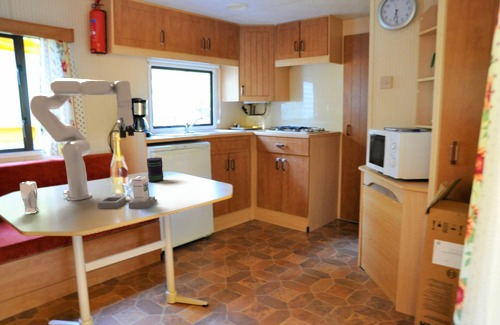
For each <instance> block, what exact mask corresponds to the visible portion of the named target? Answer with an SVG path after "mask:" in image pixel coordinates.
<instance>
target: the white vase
mask: <svg viewBox="0 0 500 325" xmlns="http://www.w3.org/2000/svg"><path fill="white" fill-rule="evenodd" d="M19 191H20V192H19V193H20V197H21V199H22V202H23V205H24V213H25V212H35V211H38V210H39V211H40V209H39V206H38V197H39V195H38V186H37V182H36V180H35V181H34V180H29V181H28V180H27V181H23V182H20V183H19Z"/></svg>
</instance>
